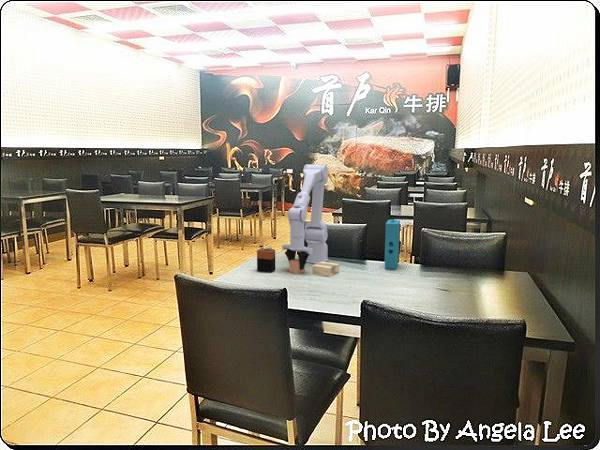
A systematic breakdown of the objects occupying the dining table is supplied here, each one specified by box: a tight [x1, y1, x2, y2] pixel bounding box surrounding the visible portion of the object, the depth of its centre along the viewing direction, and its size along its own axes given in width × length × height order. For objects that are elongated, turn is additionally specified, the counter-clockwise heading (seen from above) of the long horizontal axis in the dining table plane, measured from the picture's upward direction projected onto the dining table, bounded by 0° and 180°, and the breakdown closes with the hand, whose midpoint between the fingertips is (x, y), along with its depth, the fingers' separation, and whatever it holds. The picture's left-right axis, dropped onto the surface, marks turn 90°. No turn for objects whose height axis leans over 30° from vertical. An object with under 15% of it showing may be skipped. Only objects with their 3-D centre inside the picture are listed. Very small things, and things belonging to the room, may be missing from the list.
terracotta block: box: [289, 257, 306, 274], centre depth 185 cm, size 4×4×5 cm
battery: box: [256, 246, 276, 273], centre depth 186 cm, size 4×7×10 cm, turn 68°
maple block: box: [311, 261, 340, 278], centre depth 183 cm, size 8×8×4 cm
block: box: [384, 219, 401, 271], centre depth 192 cm, size 12×5×20 cm, turn 163°
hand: (297, 268), depth 185 cm, fingers closed on terracotta block, 4 cm apart
